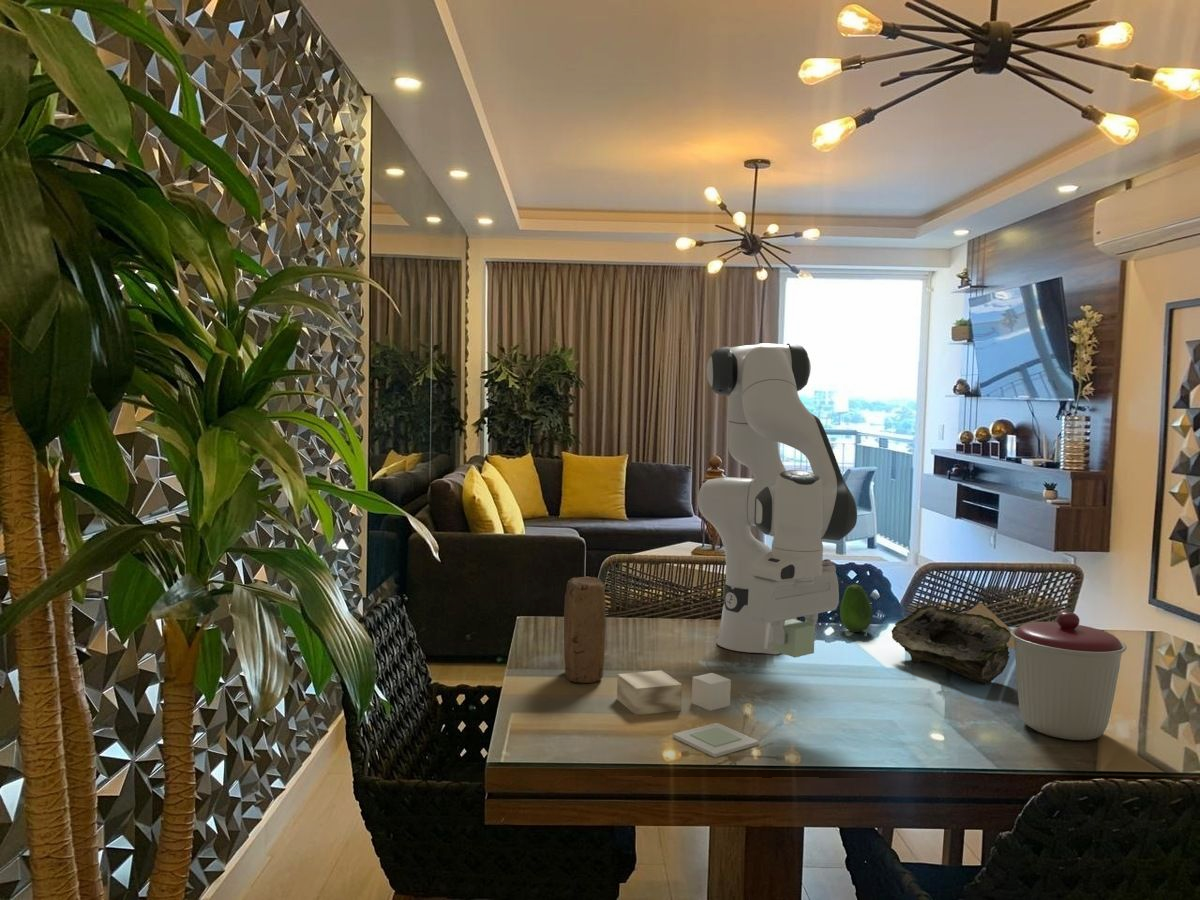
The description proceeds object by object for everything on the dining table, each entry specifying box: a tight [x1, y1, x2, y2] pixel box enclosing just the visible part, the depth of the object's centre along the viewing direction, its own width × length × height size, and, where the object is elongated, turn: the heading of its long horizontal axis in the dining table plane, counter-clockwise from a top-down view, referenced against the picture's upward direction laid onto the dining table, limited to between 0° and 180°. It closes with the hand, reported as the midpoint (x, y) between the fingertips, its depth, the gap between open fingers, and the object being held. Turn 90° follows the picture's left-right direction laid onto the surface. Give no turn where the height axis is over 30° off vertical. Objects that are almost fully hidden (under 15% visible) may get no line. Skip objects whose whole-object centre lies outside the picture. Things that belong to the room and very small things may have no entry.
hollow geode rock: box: [891, 604, 1011, 685], centre depth 191 cm, size 28×13×15 cm
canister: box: [1010, 611, 1128, 741], centre depth 157 cm, size 18×18×21 cm
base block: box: [616, 669, 683, 716], centre depth 165 cm, size 9×9×5 cm
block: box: [563, 576, 606, 684], centre depth 180 cm, size 11×8×20 cm
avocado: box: [839, 583, 873, 633], centre depth 223 cm, size 8×8×12 cm
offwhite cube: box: [691, 672, 732, 711], centre depth 166 cm, size 5×5×5 cm
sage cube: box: [773, 619, 816, 658], centre depth 158 cm, size 5×5×5 cm
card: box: [672, 722, 760, 758], centre depth 148 cm, size 10×10×1 cm
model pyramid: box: [965, 601, 1015, 651], centre depth 218 cm, size 17×17×10 cm
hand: (793, 640), depth 158 cm, fingers closed on sage cube, 5 cm apart
